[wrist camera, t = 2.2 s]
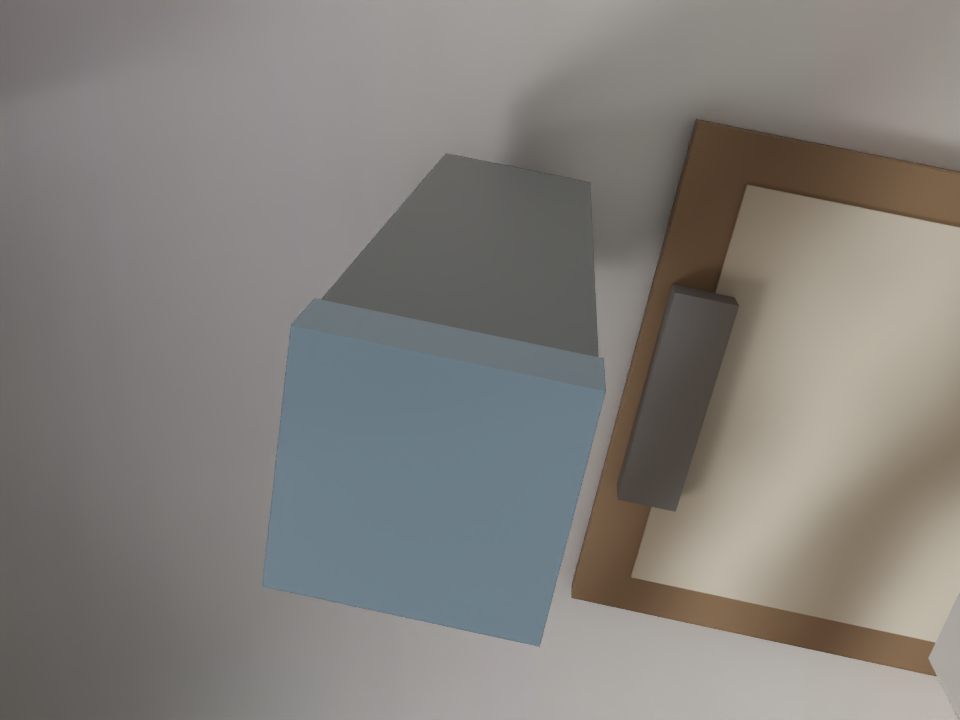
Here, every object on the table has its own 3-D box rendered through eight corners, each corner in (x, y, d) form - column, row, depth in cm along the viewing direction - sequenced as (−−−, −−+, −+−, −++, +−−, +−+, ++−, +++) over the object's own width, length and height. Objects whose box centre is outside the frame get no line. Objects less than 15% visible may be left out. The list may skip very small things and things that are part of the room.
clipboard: (571, 585, 28) (571, 614, 26) (696, 119, 22) (703, 126, 21) (1132, 706, 27) (1160, 741, 26) (1395, 259, 22) (1446, 276, 21)
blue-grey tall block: (429, 275, 25) (262, 586, 12) (452, 141, 23) (291, 325, 10) (561, 302, 25) (540, 646, 12) (591, 169, 23) (605, 391, 10)
